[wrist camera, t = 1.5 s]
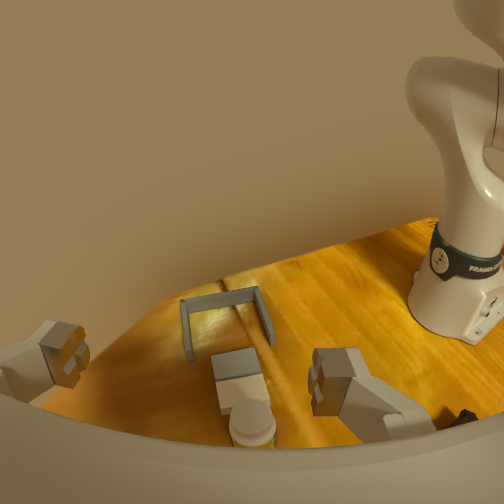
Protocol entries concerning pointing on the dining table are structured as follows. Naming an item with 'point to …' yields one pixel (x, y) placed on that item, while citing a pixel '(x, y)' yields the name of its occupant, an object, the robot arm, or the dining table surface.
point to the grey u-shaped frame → (218, 302)
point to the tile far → (235, 364)
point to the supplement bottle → (252, 425)
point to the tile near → (241, 391)
